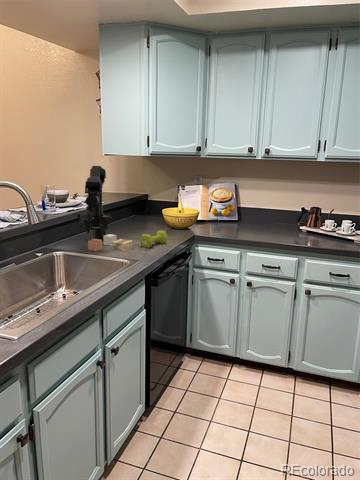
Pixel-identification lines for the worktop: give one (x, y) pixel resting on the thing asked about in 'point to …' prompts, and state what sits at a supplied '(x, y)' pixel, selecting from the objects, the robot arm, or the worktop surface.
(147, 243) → the dumbbell
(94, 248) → the terracotta cube
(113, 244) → the oak base block
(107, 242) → the offwhite cube
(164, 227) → the worktop surface
